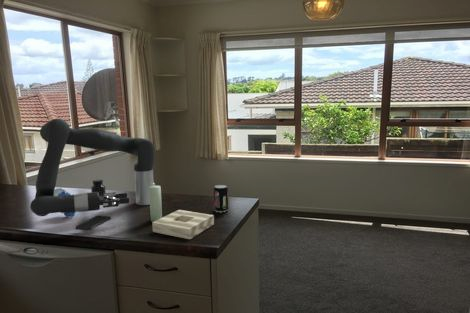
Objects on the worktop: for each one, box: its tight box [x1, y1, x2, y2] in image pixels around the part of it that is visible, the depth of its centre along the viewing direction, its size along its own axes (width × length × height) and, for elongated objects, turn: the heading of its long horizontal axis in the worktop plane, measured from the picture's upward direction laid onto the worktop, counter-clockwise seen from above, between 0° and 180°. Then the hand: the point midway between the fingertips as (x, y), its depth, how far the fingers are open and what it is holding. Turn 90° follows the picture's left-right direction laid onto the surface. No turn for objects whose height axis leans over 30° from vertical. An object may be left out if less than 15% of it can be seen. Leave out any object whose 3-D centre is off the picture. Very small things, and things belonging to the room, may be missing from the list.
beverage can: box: [213, 184, 229, 214], centre depth 170 cm, size 7×7×12 cm
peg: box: [149, 185, 163, 222], centre depth 159 cm, size 5×5×15 cm
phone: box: [75, 215, 112, 231], centre depth 157 cm, size 8×1×15 cm
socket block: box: [151, 209, 215, 240], centre depth 149 cm, size 18×18×4 cm
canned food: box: [54, 187, 69, 196], centre depth 184 cm, size 11×10×10 cm
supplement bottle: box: [90, 178, 107, 196], centre depth 186 cm, size 7×7×12 cm
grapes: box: [58, 190, 77, 218], centre depth 164 cm, size 12×7×12 cm, turn 62°
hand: (128, 197), depth 154 cm, fingers open, 8 cm apart
